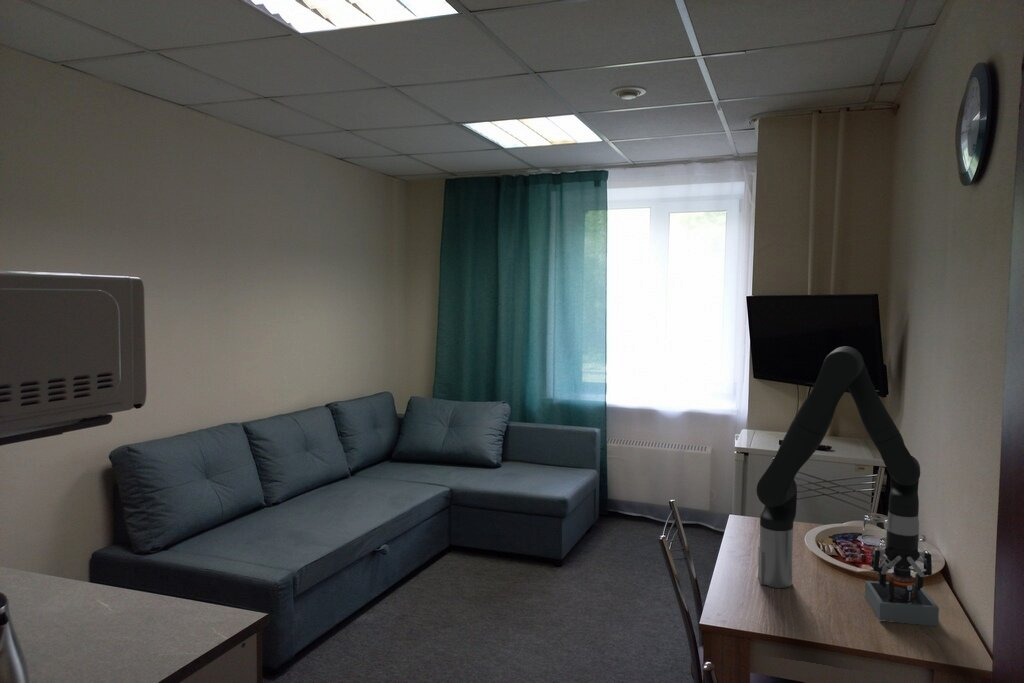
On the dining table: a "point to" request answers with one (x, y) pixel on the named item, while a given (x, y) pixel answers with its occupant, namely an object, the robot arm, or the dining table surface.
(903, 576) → the supplement bottle
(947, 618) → the dining table surface
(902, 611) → the grey bin
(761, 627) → the dining table surface
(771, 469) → the robot arm
